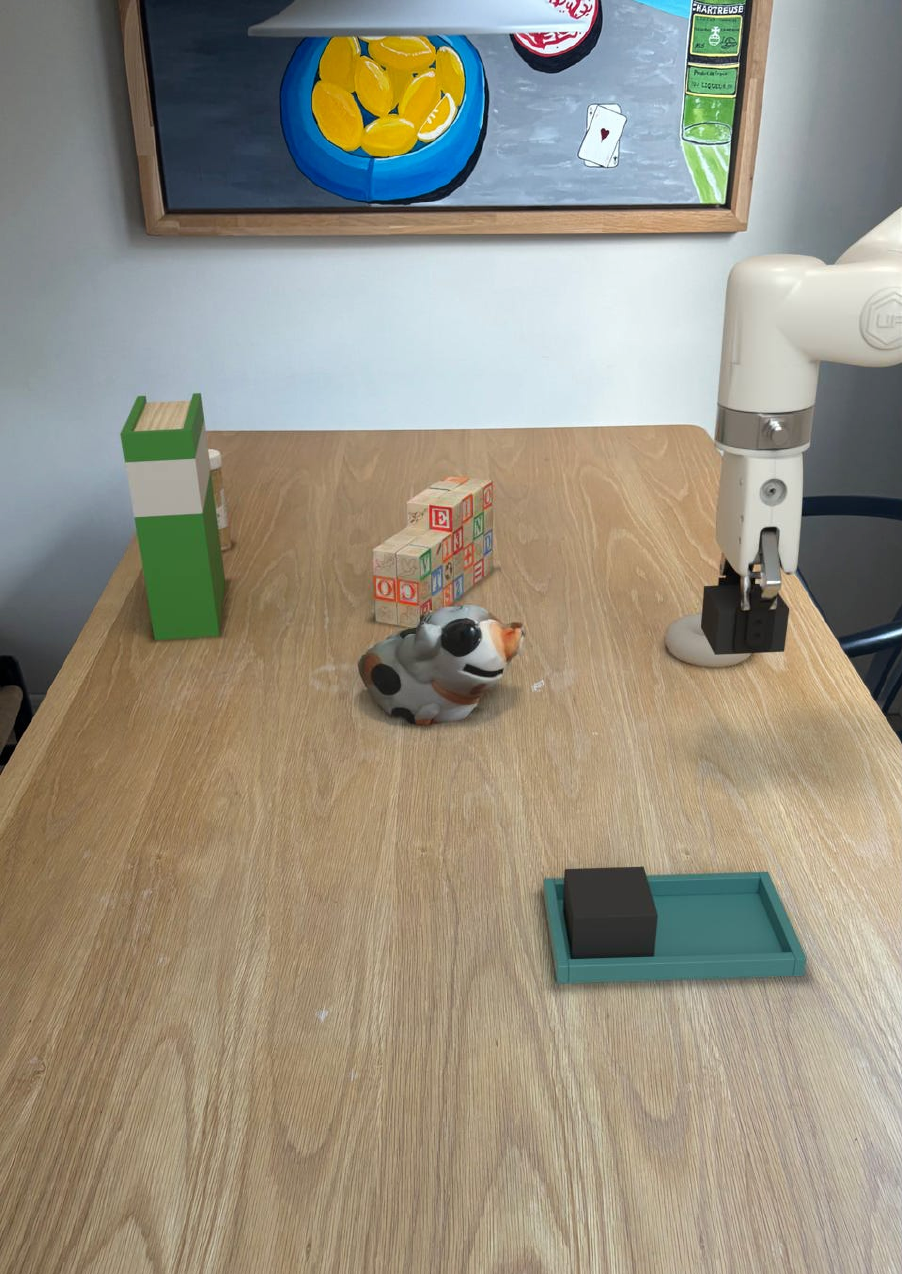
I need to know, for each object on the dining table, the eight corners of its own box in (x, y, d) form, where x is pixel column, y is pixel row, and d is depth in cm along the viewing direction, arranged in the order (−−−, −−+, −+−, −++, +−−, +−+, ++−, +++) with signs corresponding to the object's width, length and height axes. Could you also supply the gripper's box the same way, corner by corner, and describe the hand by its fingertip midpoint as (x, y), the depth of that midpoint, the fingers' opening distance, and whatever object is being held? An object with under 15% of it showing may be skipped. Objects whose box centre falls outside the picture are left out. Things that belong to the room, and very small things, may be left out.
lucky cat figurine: (453, 661, 128) (511, 565, 119) (499, 741, 122) (563, 646, 113) (337, 657, 119) (390, 553, 110) (380, 743, 113) (440, 640, 105)
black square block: (766, 624, 104) (771, 582, 102) (784, 652, 99) (789, 608, 97) (700, 627, 104) (703, 585, 102) (714, 655, 99) (718, 611, 97)
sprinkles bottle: (197, 555, 159) (183, 457, 152) (201, 544, 163) (187, 448, 156) (230, 553, 160) (218, 456, 152) (233, 542, 163) (221, 447, 156)
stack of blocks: (421, 632, 136) (417, 530, 129) (374, 624, 138) (368, 523, 131) (493, 571, 152) (493, 478, 145) (450, 565, 154) (448, 473, 148)
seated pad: (640, 908, 89) (643, 866, 87) (653, 958, 84) (658, 914, 81) (562, 910, 89) (564, 868, 87) (571, 961, 84) (573, 917, 81)
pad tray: (764, 892, 91) (768, 871, 90) (802, 981, 82) (806, 958, 81) (542, 899, 91) (543, 878, 90) (556, 989, 82) (557, 966, 81)
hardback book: (167, 587, 149) (137, 396, 137) (225, 583, 150) (200, 393, 137) (155, 642, 134) (120, 434, 122) (219, 638, 135) (191, 430, 122)
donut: (743, 680, 123) (762, 642, 131) (747, 650, 122) (766, 614, 129) (653, 665, 127) (676, 629, 135) (655, 636, 125) (679, 601, 133)
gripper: (843, 453, 85) (812, 675, 94) (781, 399, 99) (760, 596, 109) (741, 458, 85) (721, 679, 94) (694, 403, 99) (680, 599, 109)
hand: (742, 632), depth 101 cm, fingers closed on black square block, 6 cm apart
